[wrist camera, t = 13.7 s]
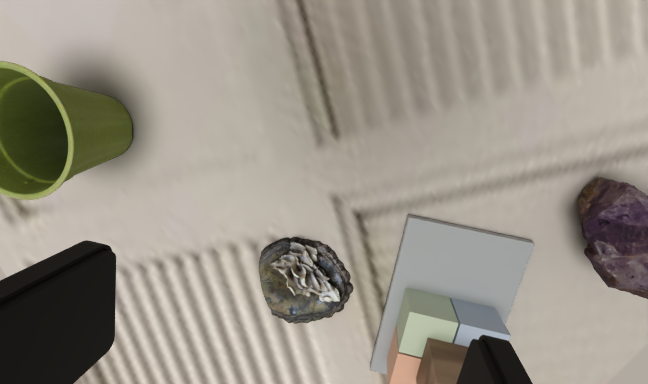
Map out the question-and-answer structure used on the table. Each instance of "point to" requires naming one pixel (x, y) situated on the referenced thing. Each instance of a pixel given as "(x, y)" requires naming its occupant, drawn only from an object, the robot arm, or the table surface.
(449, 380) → the walnut block
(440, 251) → the assembly board
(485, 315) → the blue block
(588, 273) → the table surface
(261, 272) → the grey oval shell
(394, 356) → the terracotta block
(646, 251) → the rock
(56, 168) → the plant pot
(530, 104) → the table surface
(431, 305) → the sage block
